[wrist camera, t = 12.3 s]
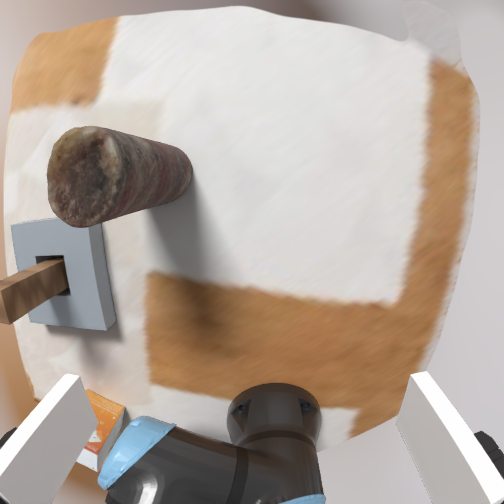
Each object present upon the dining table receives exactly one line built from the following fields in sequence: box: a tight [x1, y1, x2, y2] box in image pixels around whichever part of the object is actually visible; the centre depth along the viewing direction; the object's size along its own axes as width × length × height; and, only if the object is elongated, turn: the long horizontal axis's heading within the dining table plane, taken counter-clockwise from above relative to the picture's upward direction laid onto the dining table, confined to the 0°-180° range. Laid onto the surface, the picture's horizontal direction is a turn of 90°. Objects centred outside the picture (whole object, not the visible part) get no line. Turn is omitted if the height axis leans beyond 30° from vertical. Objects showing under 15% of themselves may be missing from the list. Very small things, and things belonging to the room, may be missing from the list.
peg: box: [0, 256, 69, 325], centre depth 32 cm, size 4×4×16 cm
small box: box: [76, 389, 125, 472], centre depth 39 cm, size 8×6×13 cm
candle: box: [47, 126, 192, 228], centre depth 26 cm, size 8×7×20 cm
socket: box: [11, 217, 116, 331], centre depth 38 cm, size 16×16×4 cm
